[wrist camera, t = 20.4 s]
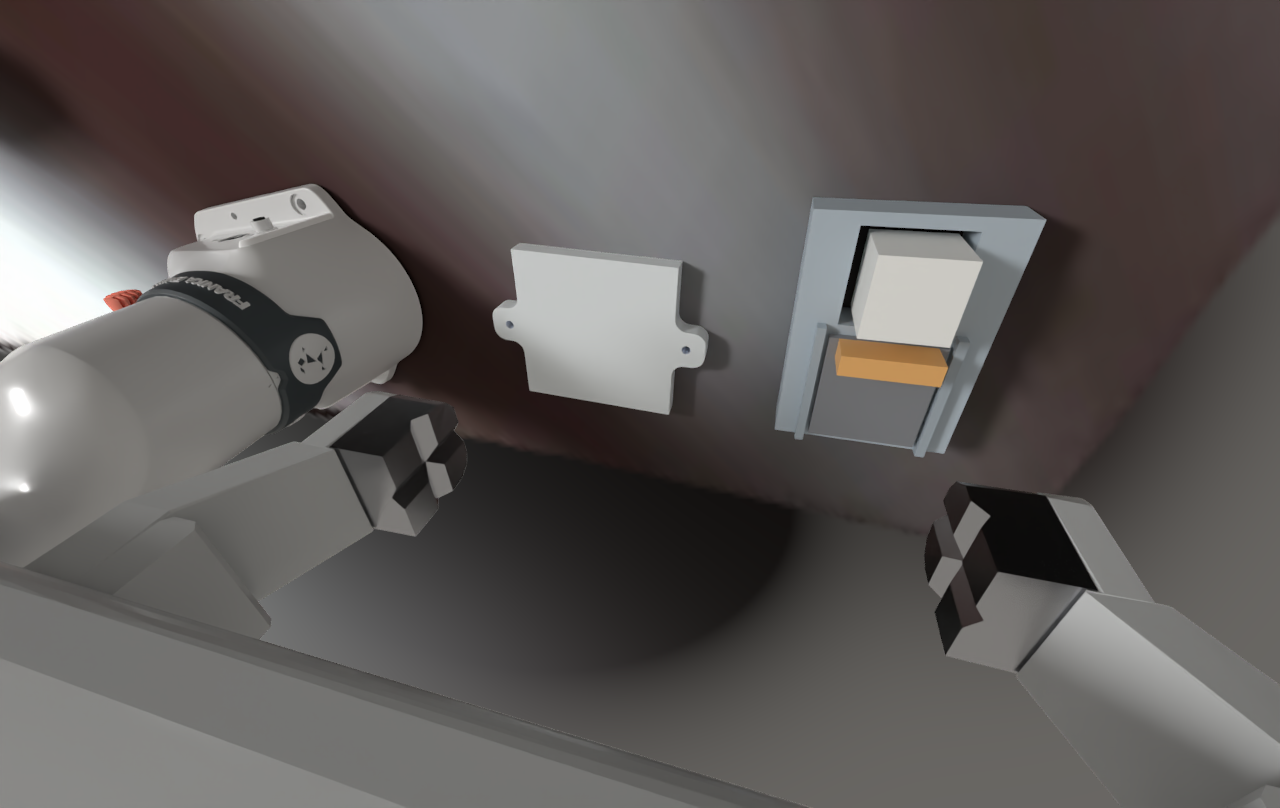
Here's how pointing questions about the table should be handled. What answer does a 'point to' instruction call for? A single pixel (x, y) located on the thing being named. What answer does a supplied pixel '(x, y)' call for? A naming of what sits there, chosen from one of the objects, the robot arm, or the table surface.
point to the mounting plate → (600, 325)
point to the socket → (818, 310)
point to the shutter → (875, 389)
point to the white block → (913, 286)
